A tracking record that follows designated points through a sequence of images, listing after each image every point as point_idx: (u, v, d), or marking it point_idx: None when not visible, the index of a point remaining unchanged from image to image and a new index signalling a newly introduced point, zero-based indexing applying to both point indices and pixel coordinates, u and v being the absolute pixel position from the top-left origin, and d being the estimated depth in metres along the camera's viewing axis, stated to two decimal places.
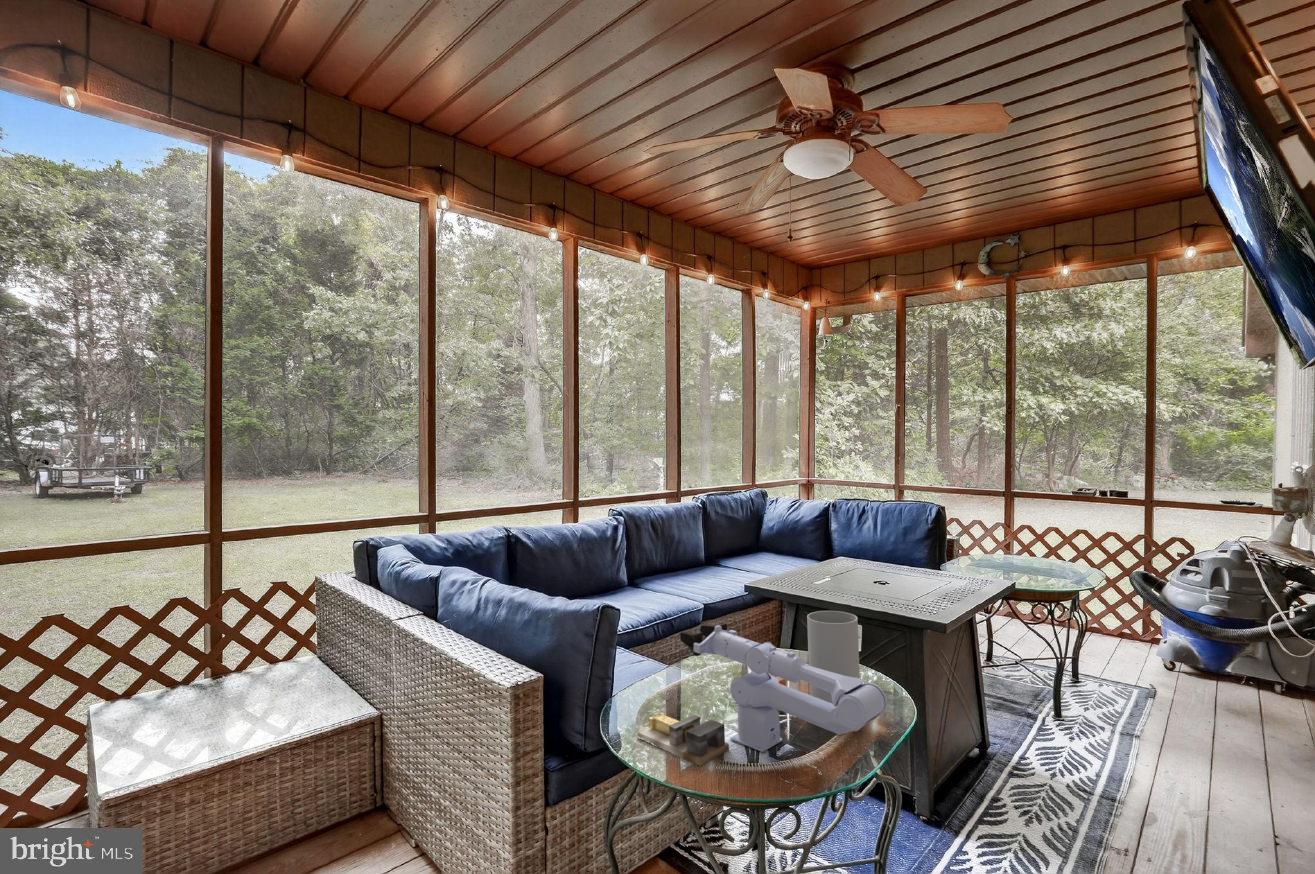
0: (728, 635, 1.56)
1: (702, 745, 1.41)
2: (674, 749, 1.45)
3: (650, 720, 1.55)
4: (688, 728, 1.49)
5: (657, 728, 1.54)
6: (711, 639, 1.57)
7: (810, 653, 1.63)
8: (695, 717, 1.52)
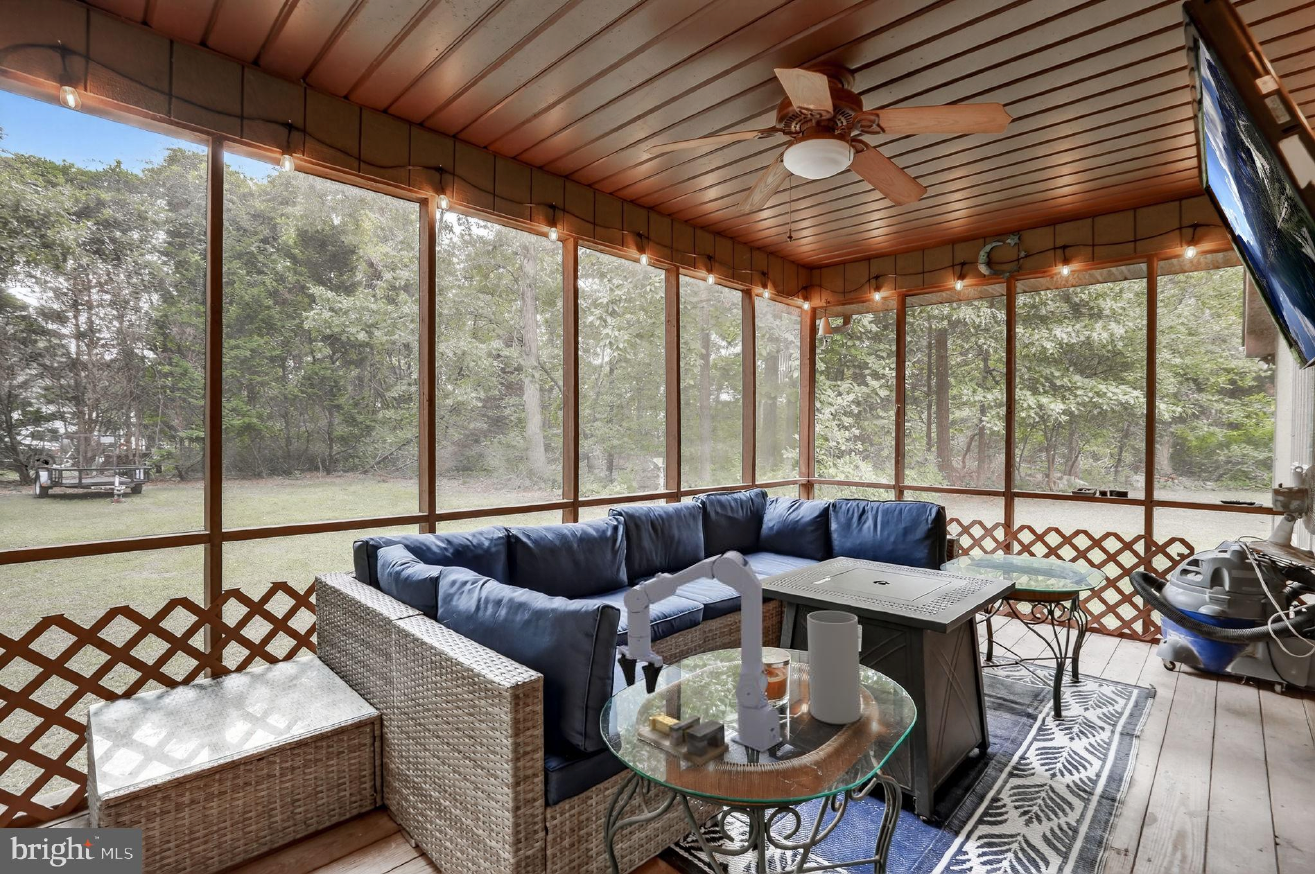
0: (632, 641, 1.59)
1: (702, 745, 1.41)
2: (674, 749, 1.45)
3: (650, 720, 1.55)
4: (688, 728, 1.49)
5: (657, 728, 1.54)
6: (643, 656, 1.58)
7: (810, 653, 1.63)
8: (695, 717, 1.52)
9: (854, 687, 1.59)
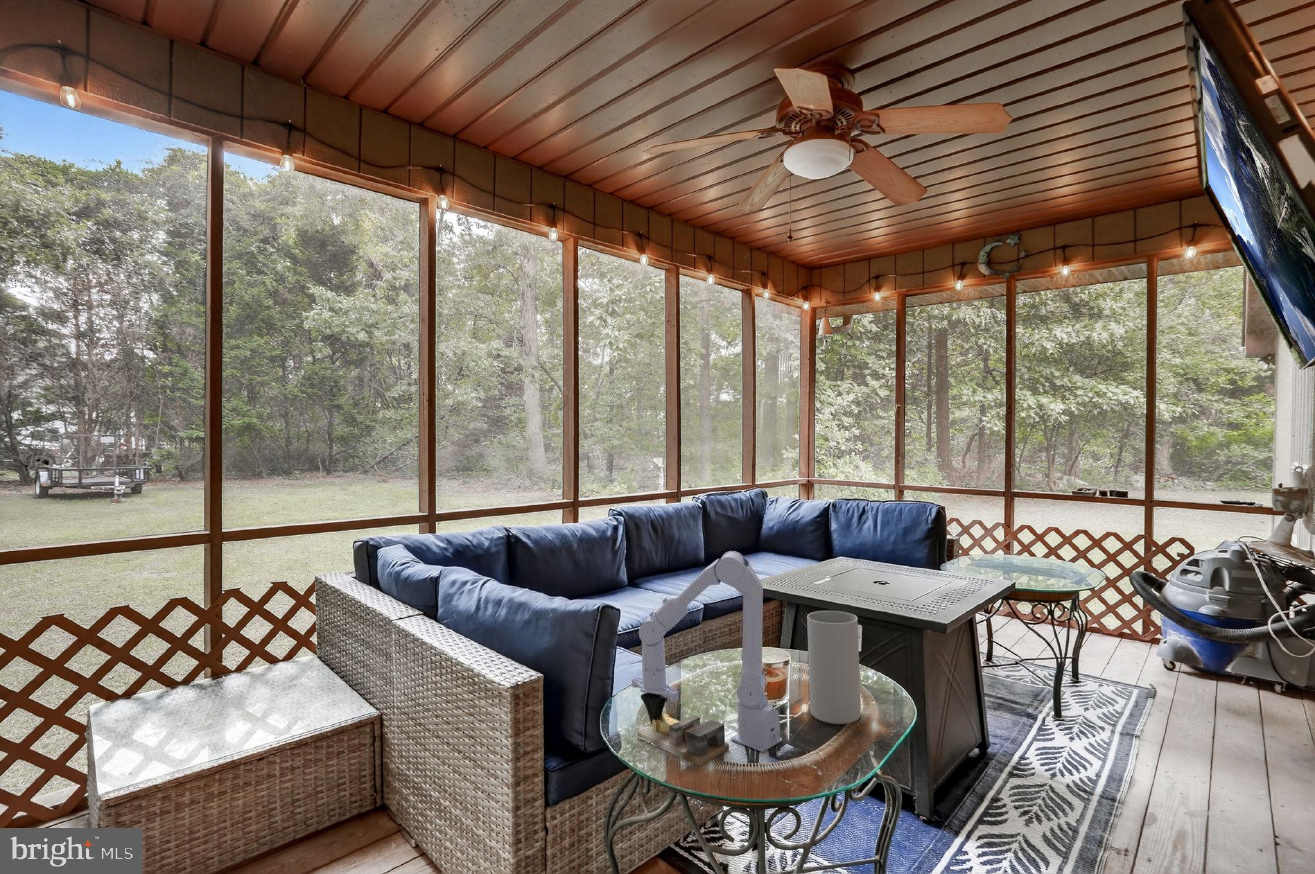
0: (647, 674, 1.55)
1: (702, 745, 1.41)
2: (674, 749, 1.45)
3: (654, 721, 1.54)
4: None
5: (661, 730, 1.53)
6: (658, 690, 1.54)
7: (810, 653, 1.63)
8: (695, 717, 1.52)
9: (854, 687, 1.59)
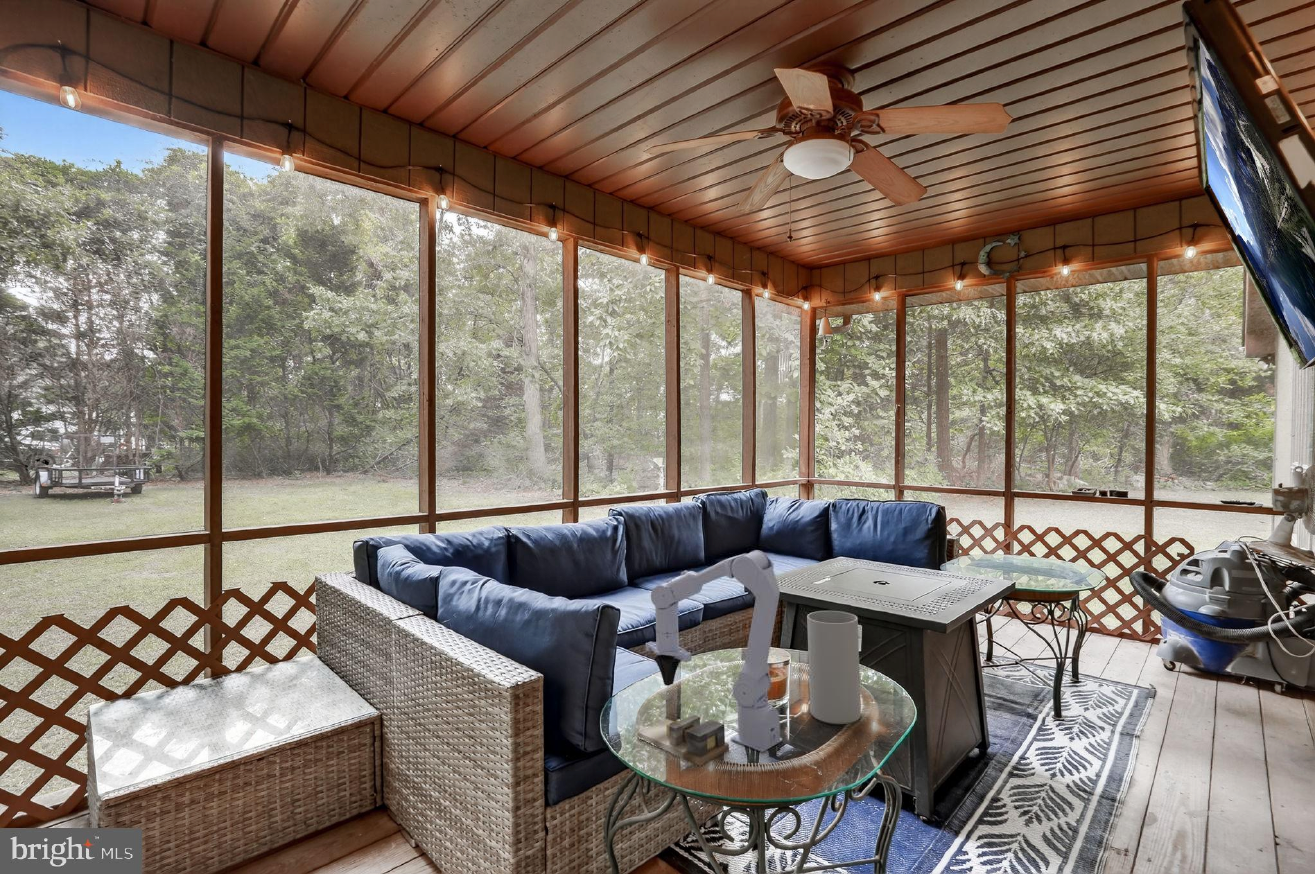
0: (661, 637, 1.61)
1: (702, 745, 1.41)
2: (674, 749, 1.45)
3: (668, 727, 1.51)
4: None
5: None
6: (671, 651, 1.61)
7: (810, 653, 1.63)
8: (695, 717, 1.52)
9: (854, 687, 1.59)
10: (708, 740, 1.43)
